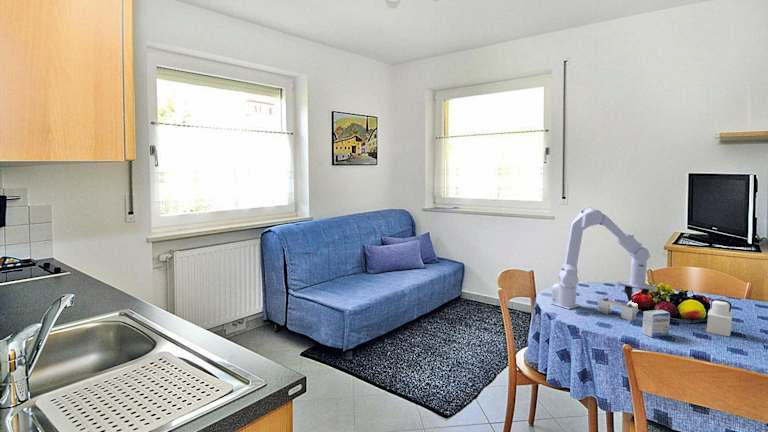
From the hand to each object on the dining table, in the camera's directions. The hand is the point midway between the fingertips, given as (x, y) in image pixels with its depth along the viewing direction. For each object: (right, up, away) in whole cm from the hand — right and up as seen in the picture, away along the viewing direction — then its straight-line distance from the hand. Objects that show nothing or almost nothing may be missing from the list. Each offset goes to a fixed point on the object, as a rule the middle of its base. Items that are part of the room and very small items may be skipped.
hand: (635, 304), depth 196 cm
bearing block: (-12, -3, -8) cm, 15 cm away
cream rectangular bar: (-2, -2, -2) cm, 4 cm away
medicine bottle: (+16, -5, -26) cm, 31 cm away
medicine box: (-8, -6, -28) cm, 30 cm away
